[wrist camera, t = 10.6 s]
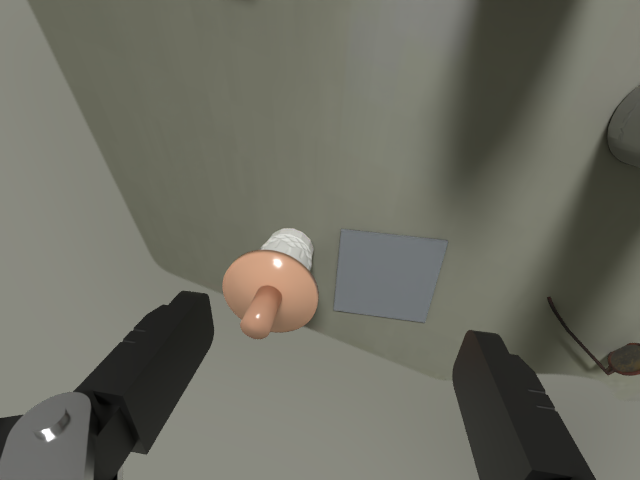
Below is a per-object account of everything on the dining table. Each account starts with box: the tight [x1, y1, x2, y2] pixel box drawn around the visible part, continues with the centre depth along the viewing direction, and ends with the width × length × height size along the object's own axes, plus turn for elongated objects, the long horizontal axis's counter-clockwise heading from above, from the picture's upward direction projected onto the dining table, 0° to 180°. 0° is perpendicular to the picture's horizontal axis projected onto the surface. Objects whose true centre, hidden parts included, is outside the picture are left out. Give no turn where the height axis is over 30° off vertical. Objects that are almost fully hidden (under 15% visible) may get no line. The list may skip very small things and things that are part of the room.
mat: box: [334, 229, 448, 323], centre depth 44 cm, size 14×14×1 cm
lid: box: [223, 250, 319, 339], centre depth 32 cm, size 11×11×6 cm
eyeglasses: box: [547, 297, 640, 376], centre depth 39 cm, size 15×15×5 cm
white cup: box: [260, 228, 314, 271], centre depth 39 cm, size 8×8×10 cm
